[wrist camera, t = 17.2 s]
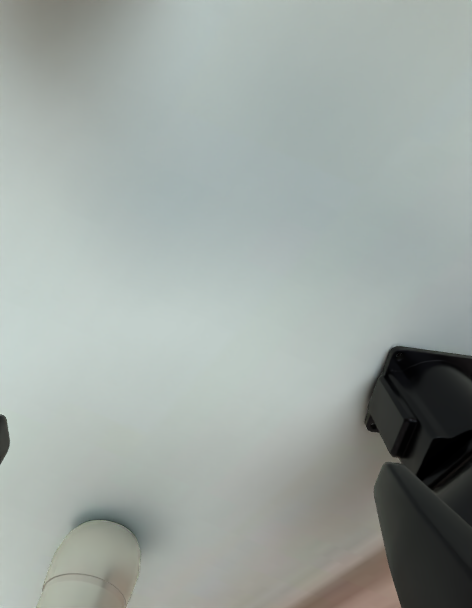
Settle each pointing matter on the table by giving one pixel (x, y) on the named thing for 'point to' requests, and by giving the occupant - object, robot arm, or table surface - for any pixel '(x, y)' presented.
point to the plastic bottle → (93, 568)
